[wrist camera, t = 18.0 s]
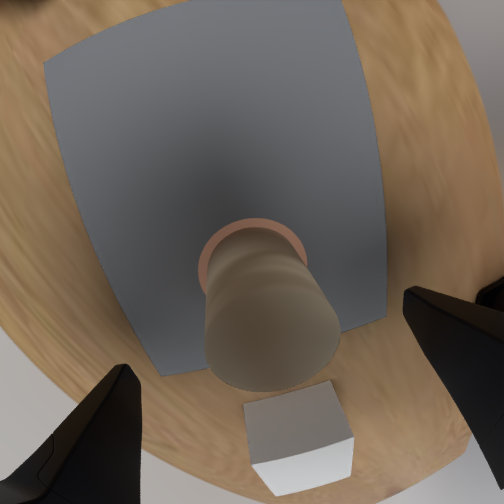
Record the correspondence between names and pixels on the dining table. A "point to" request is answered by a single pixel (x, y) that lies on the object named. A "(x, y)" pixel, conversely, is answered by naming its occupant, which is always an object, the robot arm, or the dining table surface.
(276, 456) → the white rectangular block
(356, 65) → the board
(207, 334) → the beige cylinder
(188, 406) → the dining table surface
